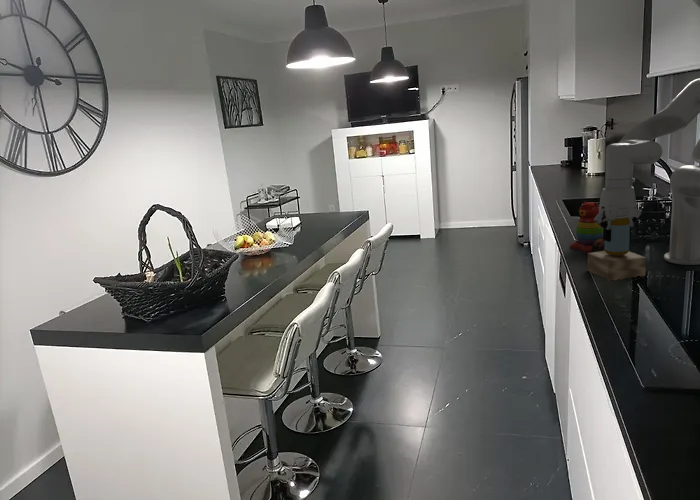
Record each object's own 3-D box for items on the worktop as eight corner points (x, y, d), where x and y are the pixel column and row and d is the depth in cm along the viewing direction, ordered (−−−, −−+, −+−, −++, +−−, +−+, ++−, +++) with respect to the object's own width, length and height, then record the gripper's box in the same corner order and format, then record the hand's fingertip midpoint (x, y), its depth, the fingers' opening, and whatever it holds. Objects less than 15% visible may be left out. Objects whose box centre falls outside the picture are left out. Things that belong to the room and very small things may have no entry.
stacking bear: (567, 247, 203) (567, 202, 199) (588, 243, 206) (588, 198, 202) (589, 253, 193) (589, 206, 189) (610, 248, 197) (611, 201, 192)
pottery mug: (588, 253, 195) (600, 234, 193) (613, 266, 191) (625, 246, 189) (585, 254, 185) (598, 233, 183) (611, 267, 181) (624, 247, 179)
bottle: (631, 255, 165) (633, 208, 161) (607, 256, 167) (609, 209, 163) (625, 249, 172) (626, 204, 168) (602, 250, 173) (603, 205, 169)
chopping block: (620, 265, 177) (621, 248, 176) (645, 275, 166) (646, 257, 164) (587, 270, 176) (587, 253, 174) (610, 281, 164) (610, 262, 163)
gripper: (635, 178, 168) (633, 233, 173) (585, 185, 166) (585, 240, 171) (652, 181, 161) (649, 238, 166) (600, 188, 159) (599, 245, 163)
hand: (616, 238), depth 168 cm, fingers closed on bottle, 6 cm apart
